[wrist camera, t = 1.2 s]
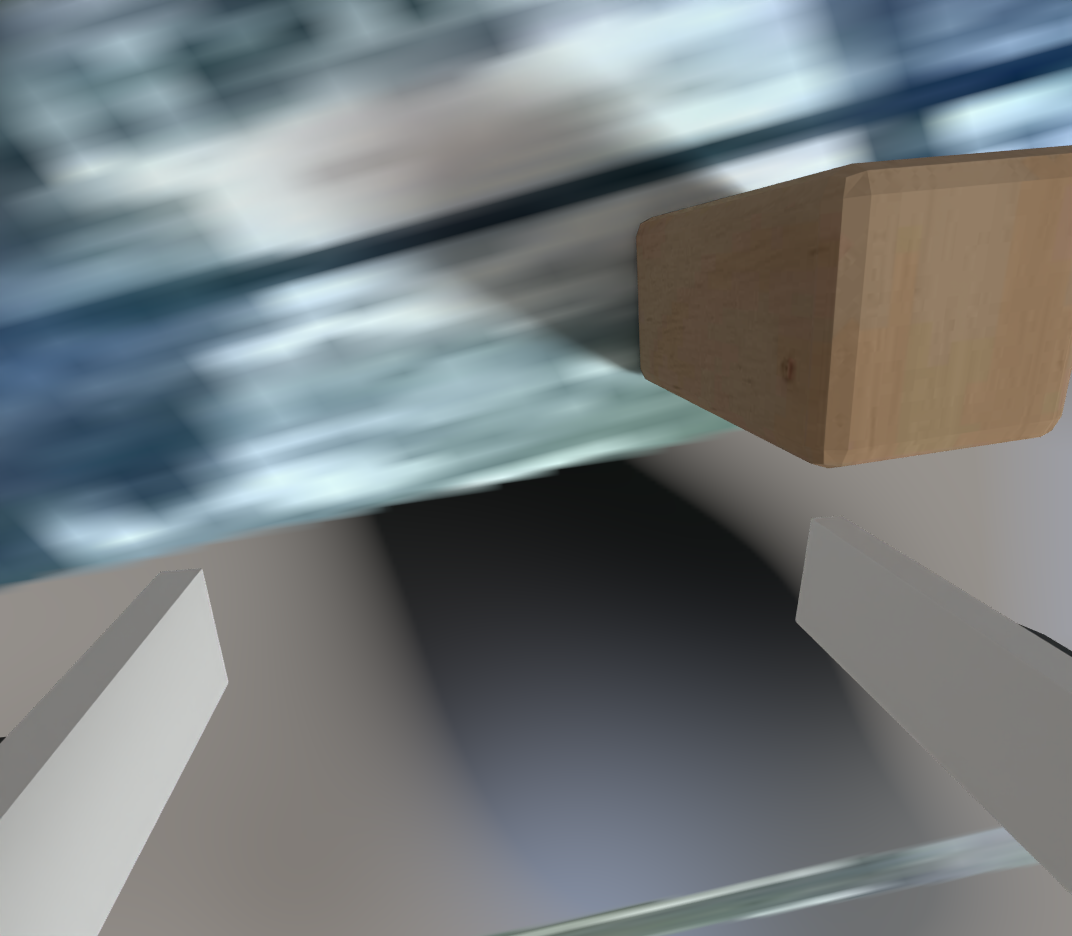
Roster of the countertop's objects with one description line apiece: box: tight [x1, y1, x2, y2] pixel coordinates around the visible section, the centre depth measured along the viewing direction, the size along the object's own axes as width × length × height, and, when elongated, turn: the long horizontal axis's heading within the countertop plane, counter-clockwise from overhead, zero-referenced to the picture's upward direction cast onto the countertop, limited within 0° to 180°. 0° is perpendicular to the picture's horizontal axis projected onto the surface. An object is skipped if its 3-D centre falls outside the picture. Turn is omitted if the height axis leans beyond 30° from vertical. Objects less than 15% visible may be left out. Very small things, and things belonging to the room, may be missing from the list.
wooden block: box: [636, 145, 1072, 468], centre depth 28 cm, size 10×10×20 cm
